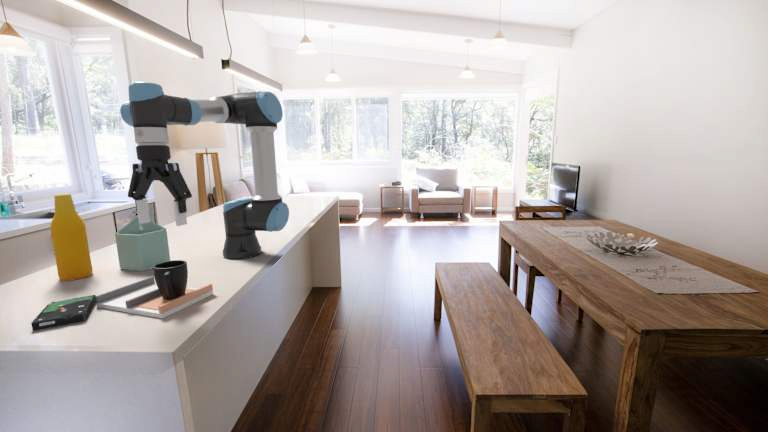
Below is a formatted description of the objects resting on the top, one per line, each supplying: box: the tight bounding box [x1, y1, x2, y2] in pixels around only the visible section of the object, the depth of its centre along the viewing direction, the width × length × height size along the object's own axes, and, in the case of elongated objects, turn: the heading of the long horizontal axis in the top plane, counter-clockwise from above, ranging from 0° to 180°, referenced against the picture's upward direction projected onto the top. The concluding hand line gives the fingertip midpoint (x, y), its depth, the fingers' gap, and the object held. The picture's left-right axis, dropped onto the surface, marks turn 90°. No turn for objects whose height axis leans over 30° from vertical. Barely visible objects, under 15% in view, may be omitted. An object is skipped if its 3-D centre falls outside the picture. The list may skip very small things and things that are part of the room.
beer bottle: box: [50, 193, 93, 282], centre depth 125 cm, size 9×9×29 cm
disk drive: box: [31, 294, 97, 332], centre depth 96 cm, size 10×3×15 cm
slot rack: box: [95, 276, 214, 319], centre depth 104 cm, size 17×24×3 cm
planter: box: [114, 215, 171, 272], centre depth 134 cm, size 16×8×20 cm, turn 117°
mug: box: [152, 259, 189, 300], centre depth 101 cm, size 8×12×10 cm
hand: (162, 224), depth 99 cm, fingers open, 13 cm apart
